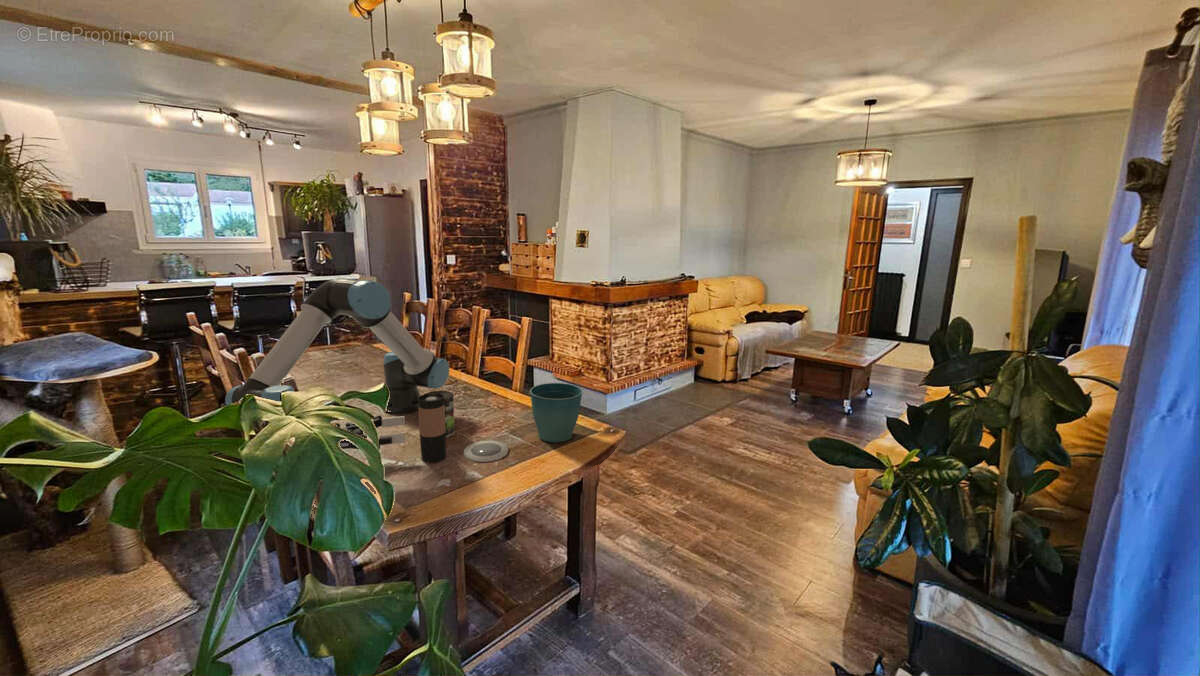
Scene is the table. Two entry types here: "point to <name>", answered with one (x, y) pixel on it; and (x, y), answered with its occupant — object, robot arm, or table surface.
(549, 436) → the flower pot
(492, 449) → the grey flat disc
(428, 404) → the travel mug
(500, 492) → the table surface
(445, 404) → the coffee can
